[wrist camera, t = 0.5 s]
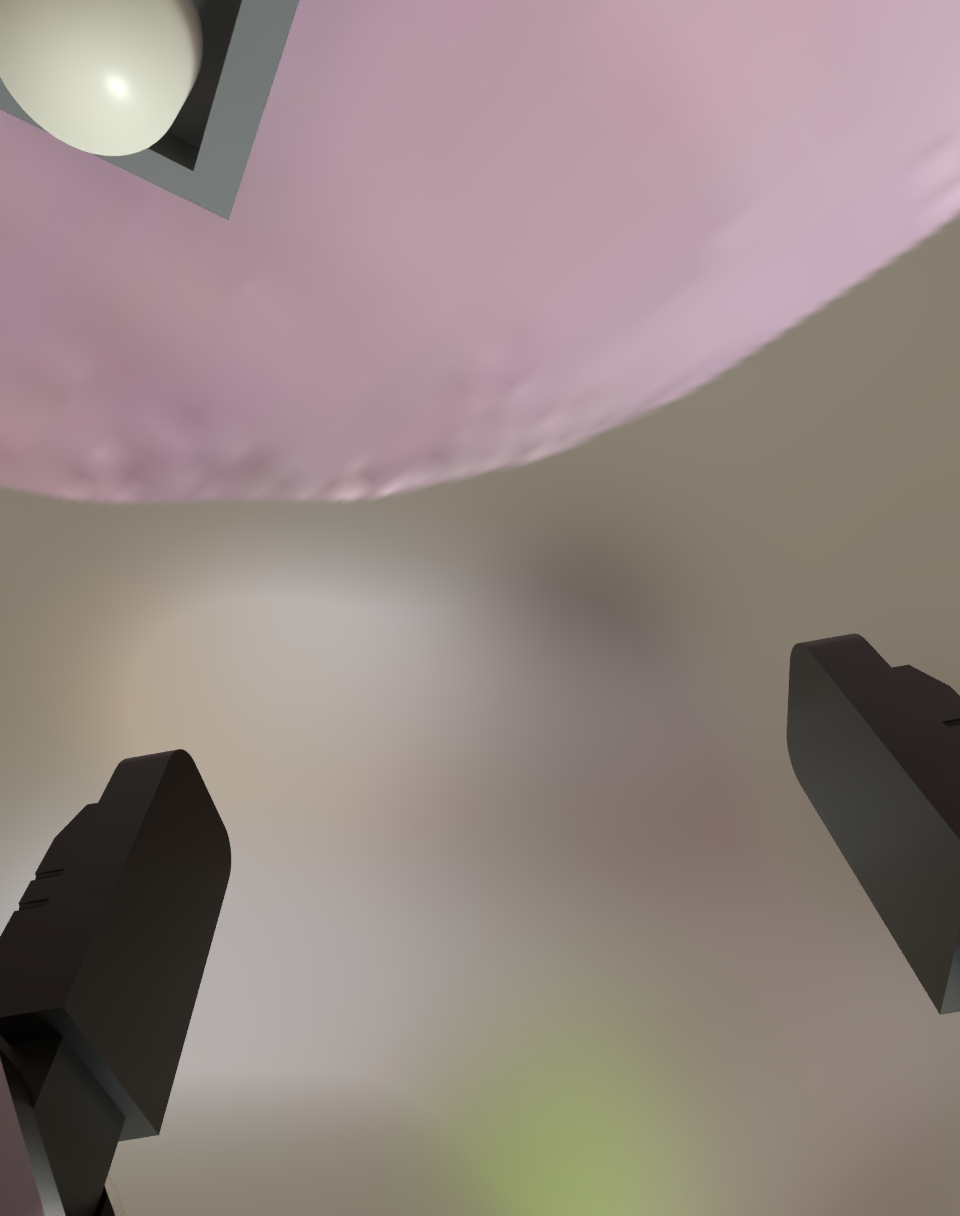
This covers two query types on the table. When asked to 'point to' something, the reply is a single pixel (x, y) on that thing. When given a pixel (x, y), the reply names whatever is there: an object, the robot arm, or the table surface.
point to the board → (212, 104)
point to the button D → (101, 67)
